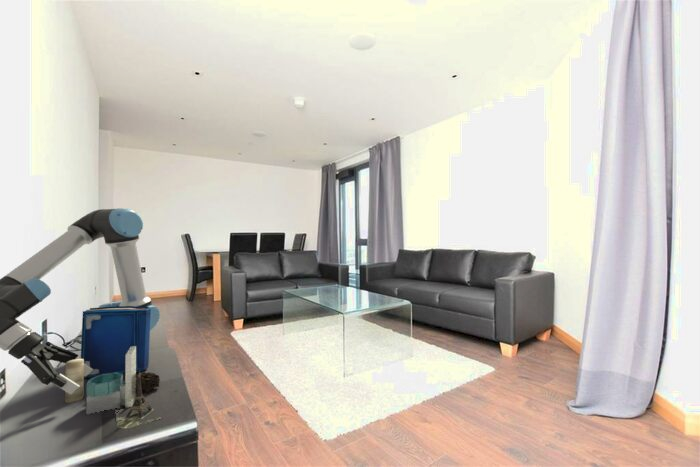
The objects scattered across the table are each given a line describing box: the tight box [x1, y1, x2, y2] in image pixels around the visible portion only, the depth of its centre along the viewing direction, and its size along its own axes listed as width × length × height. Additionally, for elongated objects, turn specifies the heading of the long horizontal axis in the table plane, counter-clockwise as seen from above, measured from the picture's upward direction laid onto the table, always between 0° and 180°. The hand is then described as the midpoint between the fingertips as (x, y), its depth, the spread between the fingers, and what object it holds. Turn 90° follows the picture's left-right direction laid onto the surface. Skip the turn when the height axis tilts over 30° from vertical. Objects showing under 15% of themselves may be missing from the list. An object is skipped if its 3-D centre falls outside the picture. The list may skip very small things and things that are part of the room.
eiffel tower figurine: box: [115, 370, 162, 429], centre depth 91 cm, size 15×10×13 cm
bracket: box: [85, 346, 137, 415], centre depth 97 cm, size 8×11×16 cm
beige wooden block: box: [64, 358, 85, 404], centre depth 100 cm, size 4×4×12 cm
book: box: [80, 306, 151, 379], centre depth 120 cm, size 22×7×25 cm, turn 108°
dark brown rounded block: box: [136, 371, 161, 393], centre depth 105 cm, size 18×7×6 cm, turn 113°
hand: (82, 381), depth 101 cm, fingers open, 13 cm apart
